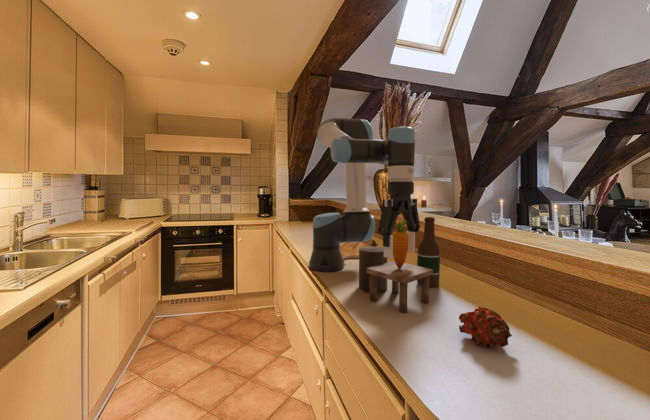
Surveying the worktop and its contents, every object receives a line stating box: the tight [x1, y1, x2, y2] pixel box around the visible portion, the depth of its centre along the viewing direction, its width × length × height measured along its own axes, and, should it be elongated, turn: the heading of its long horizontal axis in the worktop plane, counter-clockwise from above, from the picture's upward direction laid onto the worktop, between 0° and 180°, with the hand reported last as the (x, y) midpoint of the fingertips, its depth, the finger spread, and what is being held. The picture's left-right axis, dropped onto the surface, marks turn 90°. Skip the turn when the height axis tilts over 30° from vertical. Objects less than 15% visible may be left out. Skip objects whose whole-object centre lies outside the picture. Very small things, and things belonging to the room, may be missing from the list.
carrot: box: [391, 219, 409, 269], centre depth 91 cm, size 5×5×15 cm
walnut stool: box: [366, 260, 433, 314], centre depth 92 cm, size 14×14×10 cm
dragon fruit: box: [458, 306, 513, 349], centre depth 67 cm, size 8×8×12 cm
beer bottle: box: [416, 216, 441, 289], centre depth 107 cm, size 8×8×24 cm
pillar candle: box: [358, 245, 388, 294], centre depth 104 cm, size 10×10×15 cm
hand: (399, 254), depth 91 cm, fingers open, 10 cm apart
